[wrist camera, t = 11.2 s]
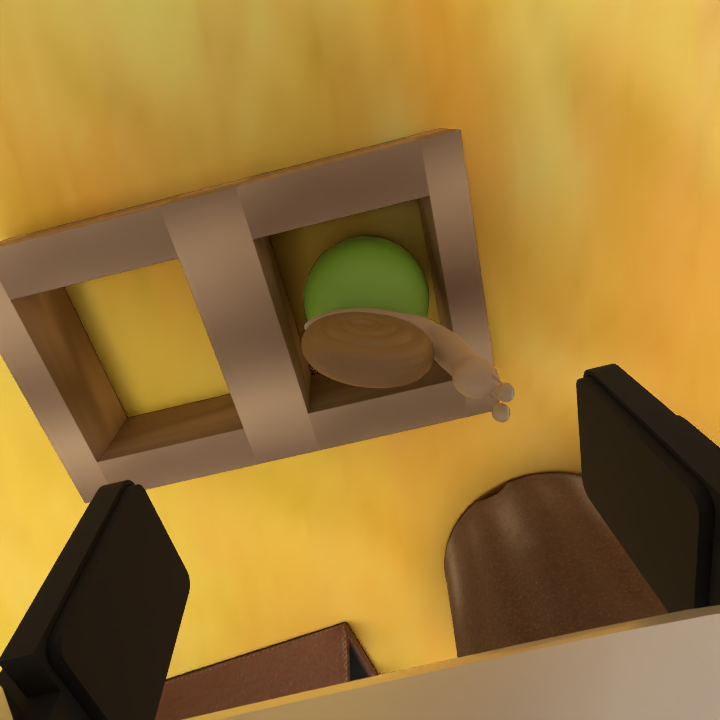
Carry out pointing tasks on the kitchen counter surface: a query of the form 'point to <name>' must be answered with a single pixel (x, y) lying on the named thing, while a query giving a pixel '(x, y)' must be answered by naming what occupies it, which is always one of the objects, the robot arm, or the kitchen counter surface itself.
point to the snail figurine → (385, 324)
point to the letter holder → (268, 674)
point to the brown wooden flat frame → (237, 318)
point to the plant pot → (539, 567)
